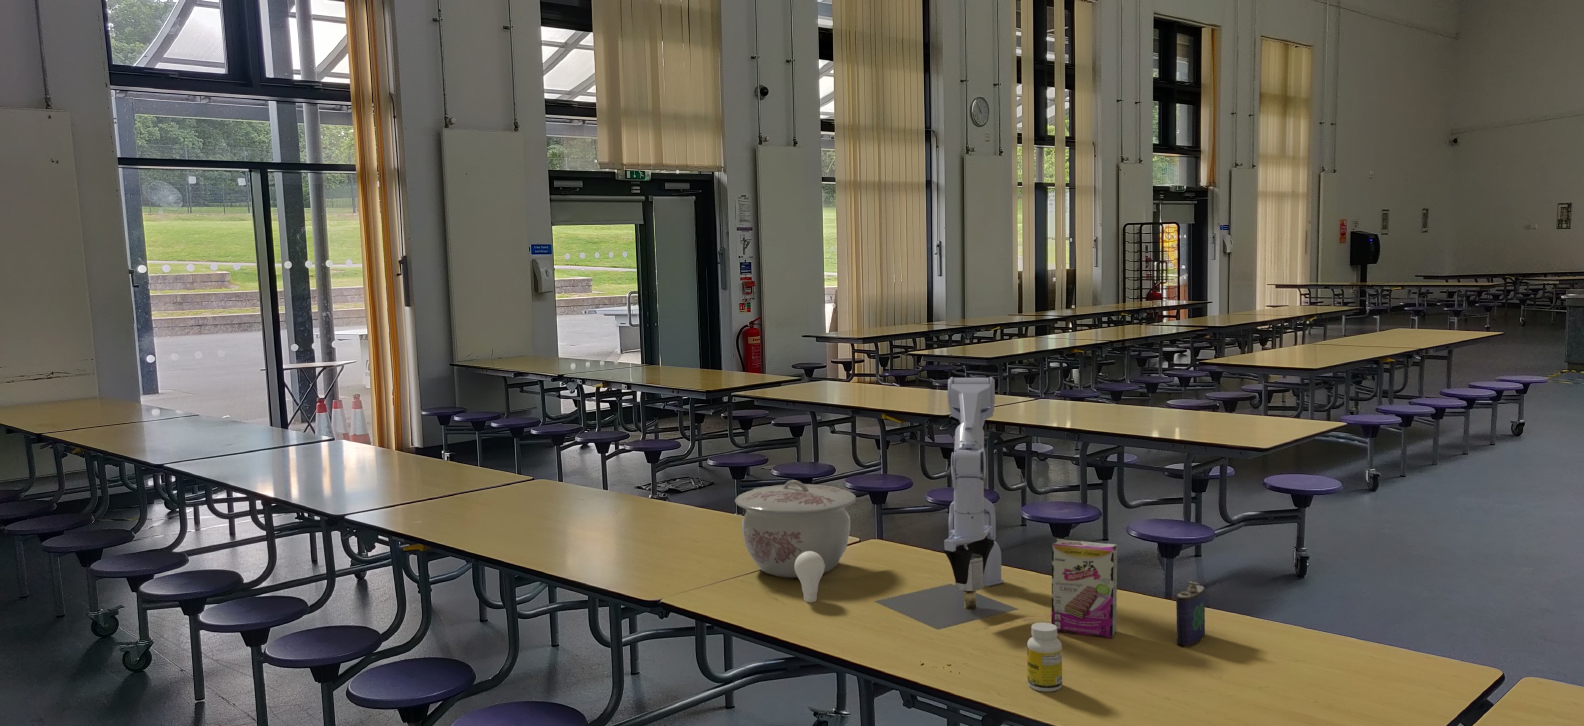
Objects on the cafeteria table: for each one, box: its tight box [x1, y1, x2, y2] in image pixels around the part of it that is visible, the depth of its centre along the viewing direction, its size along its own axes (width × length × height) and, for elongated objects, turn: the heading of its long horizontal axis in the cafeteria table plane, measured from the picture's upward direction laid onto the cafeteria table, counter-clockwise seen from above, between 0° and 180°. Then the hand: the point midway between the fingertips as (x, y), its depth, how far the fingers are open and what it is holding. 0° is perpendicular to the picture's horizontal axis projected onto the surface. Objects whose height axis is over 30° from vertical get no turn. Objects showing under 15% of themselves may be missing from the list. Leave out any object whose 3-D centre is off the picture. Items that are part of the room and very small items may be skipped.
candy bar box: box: [1050, 538, 1118, 639], centre depth 188 cm, size 11×5×16 cm, turn 65°
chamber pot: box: [734, 479, 857, 579], centre depth 232 cm, size 28×28×21 cm
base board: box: [873, 583, 1018, 630], centre depth 202 cm, size 20×20×1 cm
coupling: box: [954, 553, 985, 592], centre depth 200 cm, size 5×5×6 cm
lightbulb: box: [794, 551, 825, 603], centre depth 207 cm, size 6×6×11 cm
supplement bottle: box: [1026, 622, 1063, 693], centre depth 164 cm, size 5×5×10 cm
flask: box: [1175, 580, 1206, 649], centre depth 182 cm, size 9×3×11 cm, turn 138°
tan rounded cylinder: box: [963, 590, 977, 609], centre depth 200 cm, size 3×2×4 cm
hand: (969, 579), depth 200 cm, fingers closed on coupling, 5 cm apart
